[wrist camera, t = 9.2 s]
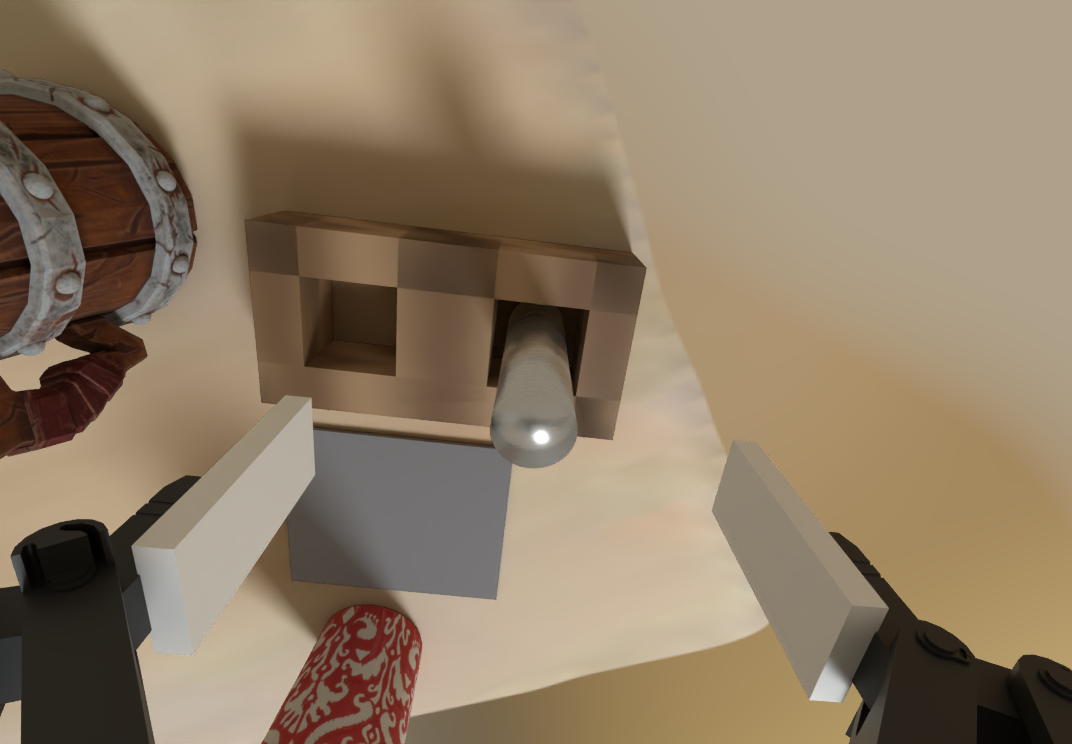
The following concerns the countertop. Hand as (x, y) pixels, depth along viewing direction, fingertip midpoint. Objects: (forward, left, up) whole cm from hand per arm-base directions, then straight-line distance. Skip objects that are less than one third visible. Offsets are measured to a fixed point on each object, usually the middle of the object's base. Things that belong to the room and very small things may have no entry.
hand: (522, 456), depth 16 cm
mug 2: (-8, -27, -14) cm, 31 cm away
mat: (-7, -14, -14) cm, 21 cm away
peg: (0, 0, -14) cm, 14 cm away
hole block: (-4, 0, -14) cm, 14 cm away
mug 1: (-22, +2, -14) cm, 26 cm away
